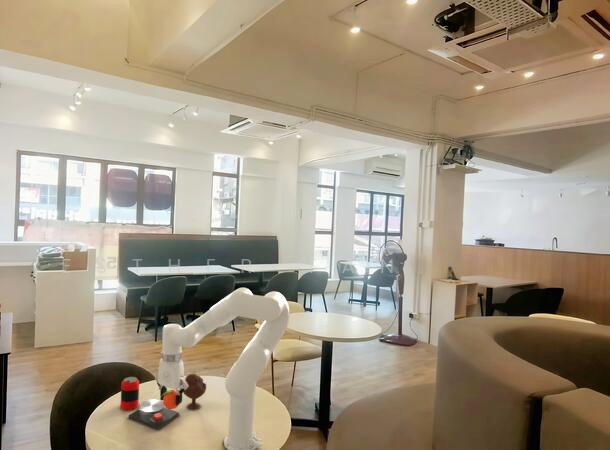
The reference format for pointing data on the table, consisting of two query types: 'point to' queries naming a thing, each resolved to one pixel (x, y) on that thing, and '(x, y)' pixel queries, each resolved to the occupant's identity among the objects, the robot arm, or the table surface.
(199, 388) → the ice cream bowl
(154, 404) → the pan
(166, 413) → the scale
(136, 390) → the soda can
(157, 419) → the button
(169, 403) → the clementine
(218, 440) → the table surface
